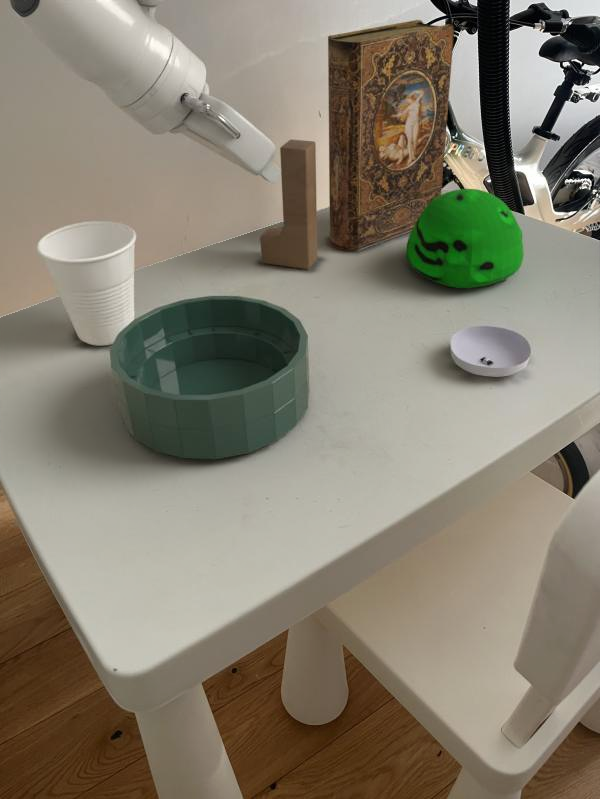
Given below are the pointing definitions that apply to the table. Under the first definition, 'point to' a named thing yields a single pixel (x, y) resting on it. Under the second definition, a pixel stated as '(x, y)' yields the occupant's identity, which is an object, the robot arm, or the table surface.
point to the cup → (93, 276)
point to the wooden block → (295, 210)
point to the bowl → (211, 376)
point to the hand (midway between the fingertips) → (254, 164)
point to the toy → (466, 240)
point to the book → (386, 128)
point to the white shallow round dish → (490, 351)
